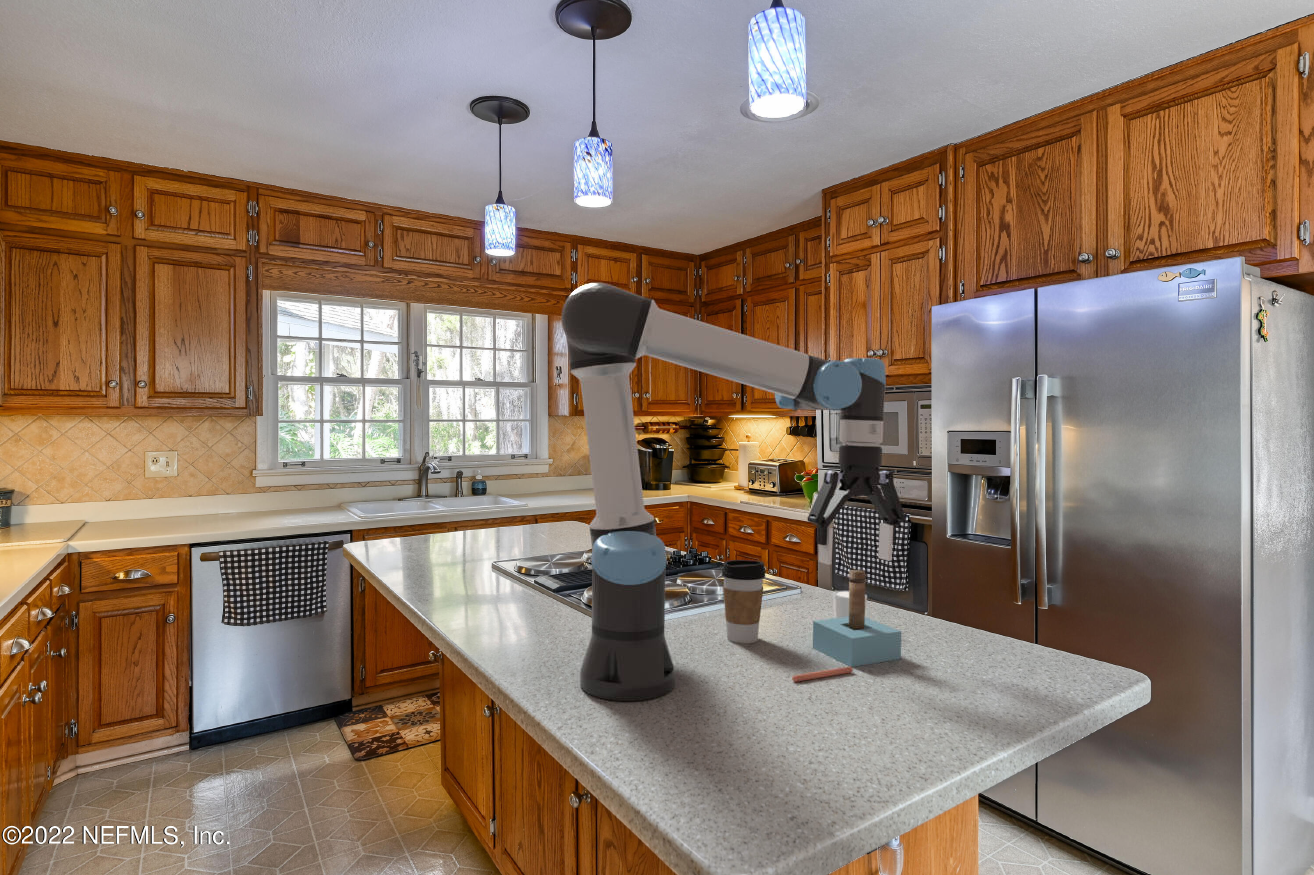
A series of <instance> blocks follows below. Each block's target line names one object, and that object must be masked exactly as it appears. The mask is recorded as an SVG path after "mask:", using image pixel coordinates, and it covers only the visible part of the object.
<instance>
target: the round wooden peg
mask: <svg viewBox="0 0 1314 875" xmlns="http://www.w3.org/2000/svg"><path fill="white" fill-rule="evenodd" d="M848 574H849V576H848V591H849V628H850V629H852V630H863V629H865V617H866V610H865V595H866V583H867V582H866V571H864V570H861V569H851V570H849V572H848Z"/></svg>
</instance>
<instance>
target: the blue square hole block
mask: <svg viewBox="0 0 1314 875" xmlns="http://www.w3.org/2000/svg"><path fill="white" fill-rule="evenodd" d="M812 648H813V649H814V650H817V651H818V652H820V653H822V654H825V655H826V656H829V657H831V658H832V659H834V660H836V661H838V662H841V663H842V664H844V665H846V666H847V667H852V668H853V667H860V666H865V665H872V664H878V663H885V662H889V661H895V660H896V661H897V660H901V656H902V630H899V629H897V628H894V627H892V626H889V625H886V624H884V623H881V622H879V621H877V620H874V619H871V618H869V617H866V616H865V629H863V630H852V629H850V628H849V617H841V618H834V617H833V618H827V619H819V620H812Z"/></svg>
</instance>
